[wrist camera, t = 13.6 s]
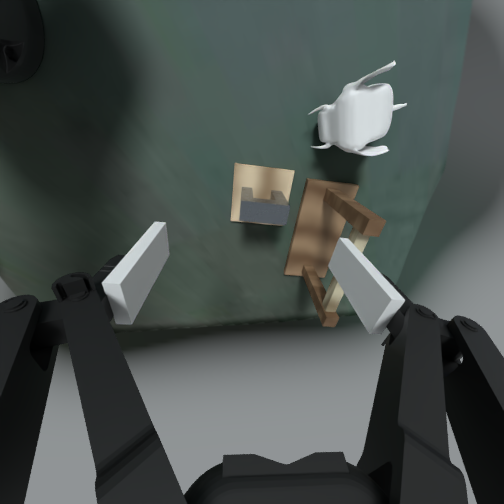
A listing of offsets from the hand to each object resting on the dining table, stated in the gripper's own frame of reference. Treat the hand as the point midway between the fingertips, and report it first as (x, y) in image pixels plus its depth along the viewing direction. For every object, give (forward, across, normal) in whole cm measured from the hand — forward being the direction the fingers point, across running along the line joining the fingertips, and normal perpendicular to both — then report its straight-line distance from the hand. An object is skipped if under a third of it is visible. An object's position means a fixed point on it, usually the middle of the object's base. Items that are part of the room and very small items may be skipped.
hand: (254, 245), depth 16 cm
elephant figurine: (+23, +14, +10) cm, 29 cm away
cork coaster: (+23, +3, -3) cm, 23 cm away
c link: (+22, +3, -3) cm, 23 cm away
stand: (+22, +15, -9) cm, 28 cm away
